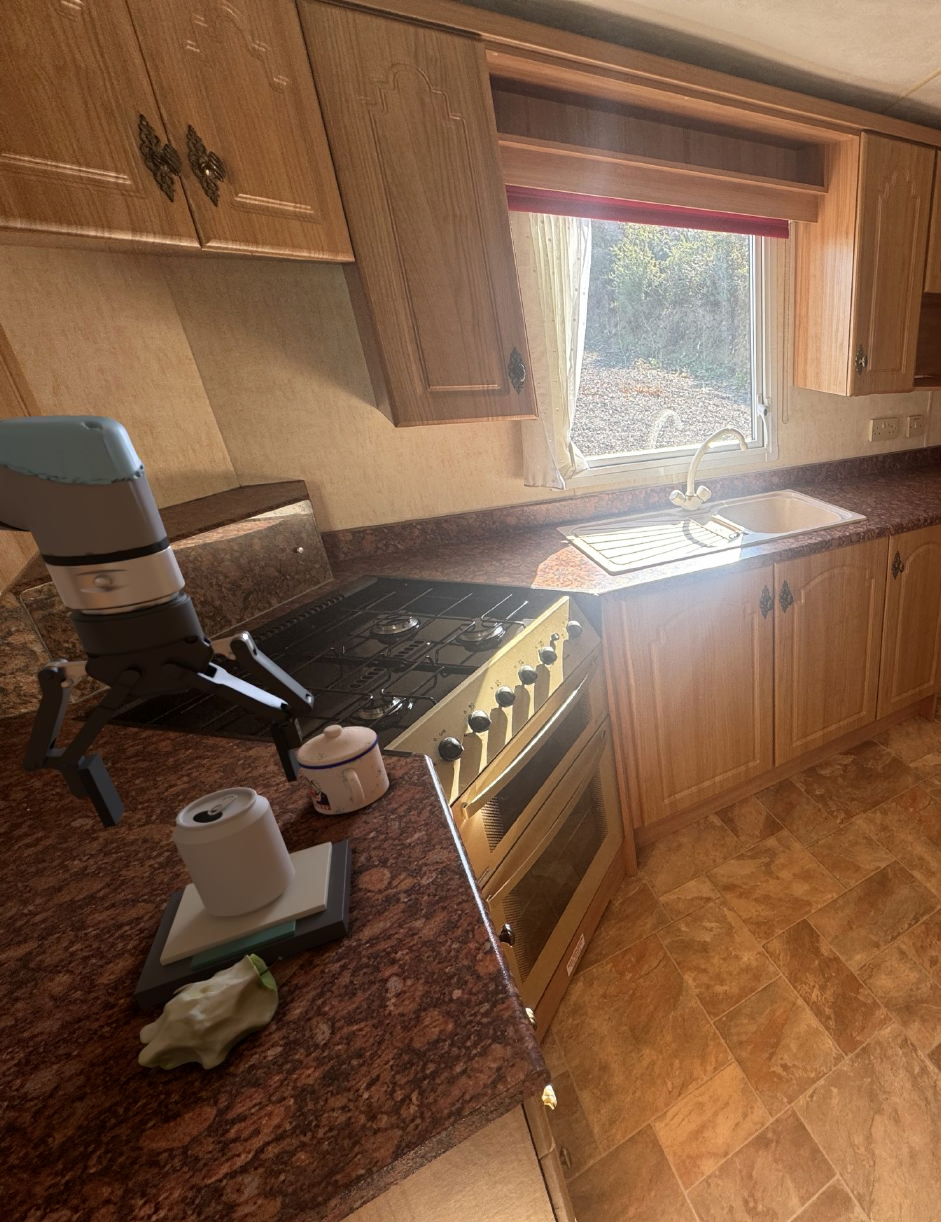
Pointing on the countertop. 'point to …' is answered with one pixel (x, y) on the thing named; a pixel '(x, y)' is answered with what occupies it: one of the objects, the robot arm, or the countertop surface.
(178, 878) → the countertop surface
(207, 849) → the can
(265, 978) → the fruit
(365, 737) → the teacup with lid
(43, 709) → the robot arm
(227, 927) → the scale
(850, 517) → the countertop surface
